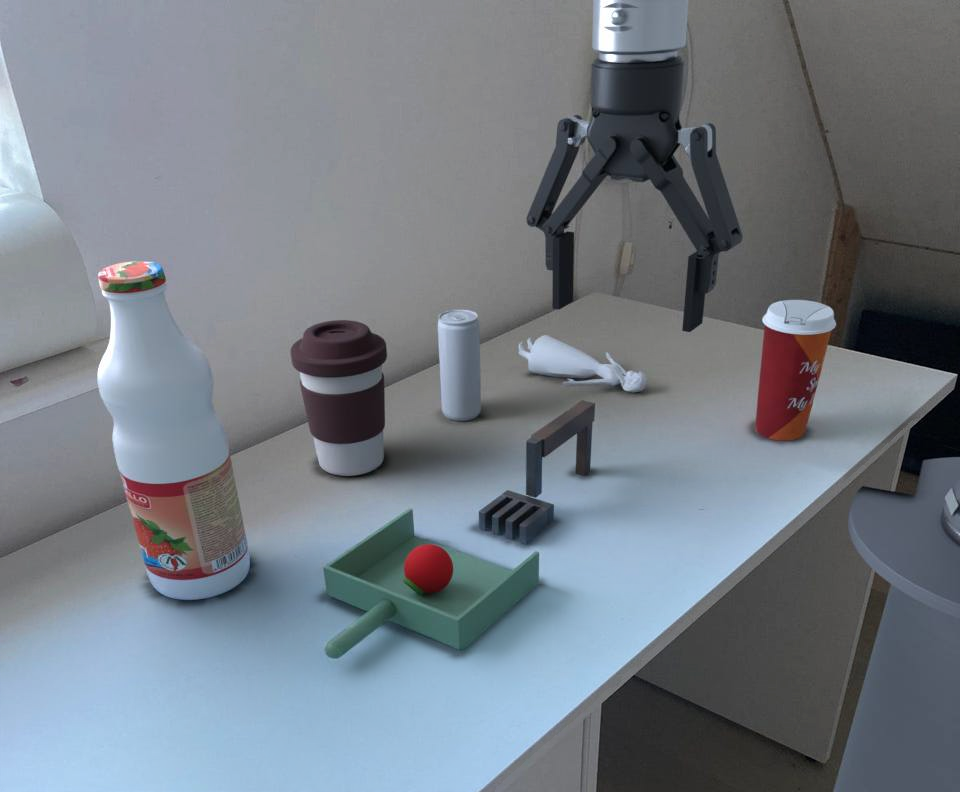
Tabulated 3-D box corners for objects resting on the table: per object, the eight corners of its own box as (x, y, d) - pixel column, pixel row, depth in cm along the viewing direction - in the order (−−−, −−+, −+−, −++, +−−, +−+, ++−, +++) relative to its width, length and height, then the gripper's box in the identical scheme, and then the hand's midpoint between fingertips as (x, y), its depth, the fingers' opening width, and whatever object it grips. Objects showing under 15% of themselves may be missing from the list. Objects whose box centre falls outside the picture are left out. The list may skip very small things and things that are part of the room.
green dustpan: (411, 537, 96) (409, 507, 94) (538, 582, 89) (539, 552, 87) (265, 641, 83) (259, 609, 81) (401, 704, 76) (398, 671, 74)
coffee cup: (363, 491, 104) (348, 354, 95) (289, 472, 108) (267, 338, 99) (412, 453, 111) (403, 322, 102) (341, 436, 115) (326, 309, 106)
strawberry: (451, 551, 84) (418, 590, 84) (470, 572, 88) (438, 610, 88) (418, 527, 87) (385, 566, 86) (437, 549, 90) (406, 586, 90)
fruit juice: (261, 588, 90) (202, 277, 73) (157, 612, 87) (70, 296, 70) (241, 539, 97) (182, 245, 80) (144, 561, 94) (61, 261, 77)
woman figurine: (547, 318, 132) (668, 352, 124) (545, 350, 135) (663, 385, 127) (500, 345, 124) (626, 383, 117) (498, 378, 127) (621, 417, 120)
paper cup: (807, 449, 109) (832, 325, 101) (739, 438, 112) (757, 316, 103) (819, 421, 115) (843, 302, 106) (754, 411, 118) (772, 294, 109)
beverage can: (472, 403, 122) (469, 306, 114) (487, 418, 118) (485, 319, 111) (436, 410, 120) (431, 312, 113) (450, 425, 117) (446, 326, 109)
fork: (563, 464, 108) (565, 395, 103) (608, 476, 105) (612, 407, 101) (478, 528, 97) (476, 455, 93) (526, 544, 95) (526, 470, 90)
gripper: (485, 56, 83) (493, 307, 96) (769, 65, 71) (735, 350, 84) (531, 46, 88) (533, 286, 100) (804, 53, 76) (767, 324, 89)
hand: (625, 316), depth 92 cm, fingers open, 13 cm apart
